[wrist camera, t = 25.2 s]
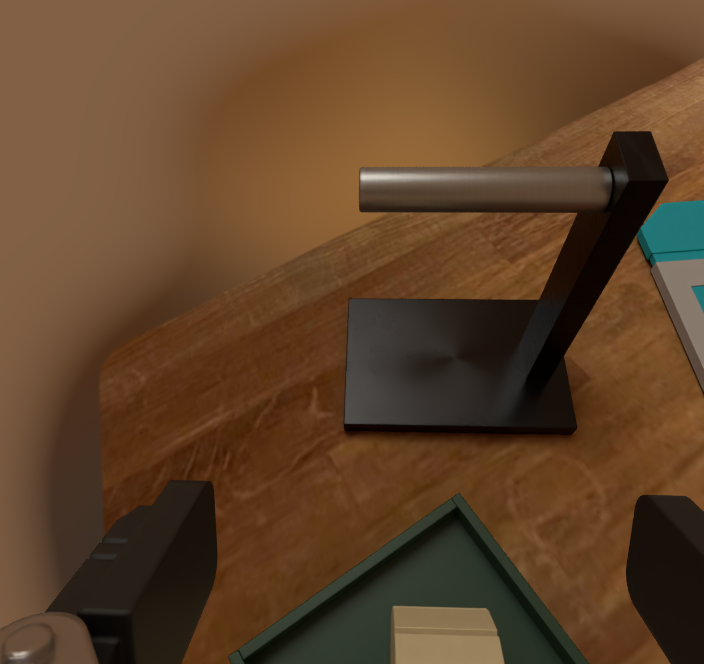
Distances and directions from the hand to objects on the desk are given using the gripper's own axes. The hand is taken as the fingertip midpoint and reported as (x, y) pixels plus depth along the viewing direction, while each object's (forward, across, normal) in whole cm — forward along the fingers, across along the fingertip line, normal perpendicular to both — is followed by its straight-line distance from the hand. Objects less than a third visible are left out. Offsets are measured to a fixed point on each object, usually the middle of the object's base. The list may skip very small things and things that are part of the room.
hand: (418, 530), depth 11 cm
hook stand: (+29, -5, +6) cm, 30 cm away
